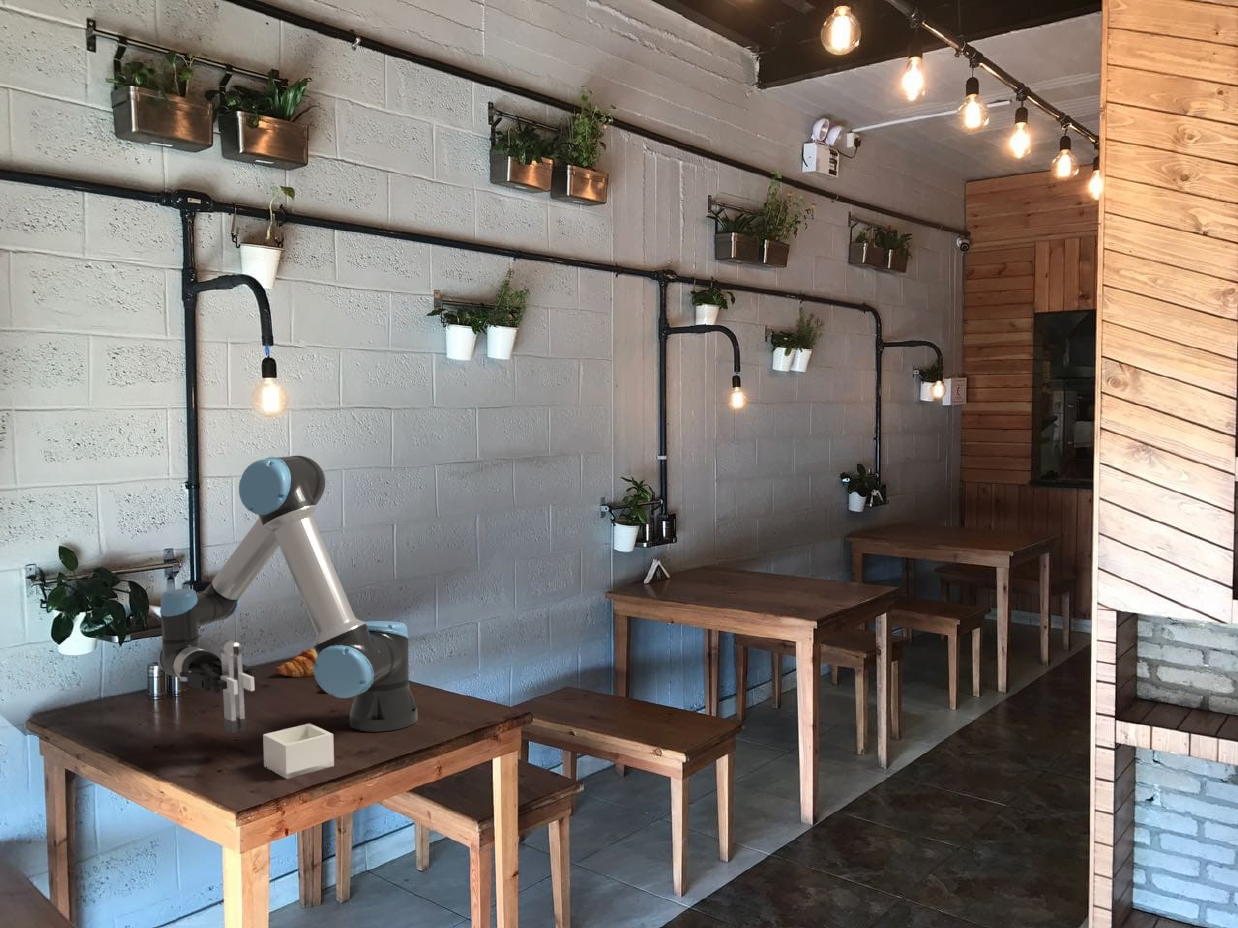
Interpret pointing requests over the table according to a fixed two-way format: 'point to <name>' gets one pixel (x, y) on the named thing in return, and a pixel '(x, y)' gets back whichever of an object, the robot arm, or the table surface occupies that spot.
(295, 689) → the table surface
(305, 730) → the caddy
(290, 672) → the croissant
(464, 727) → the table surface
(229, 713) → the tongs
